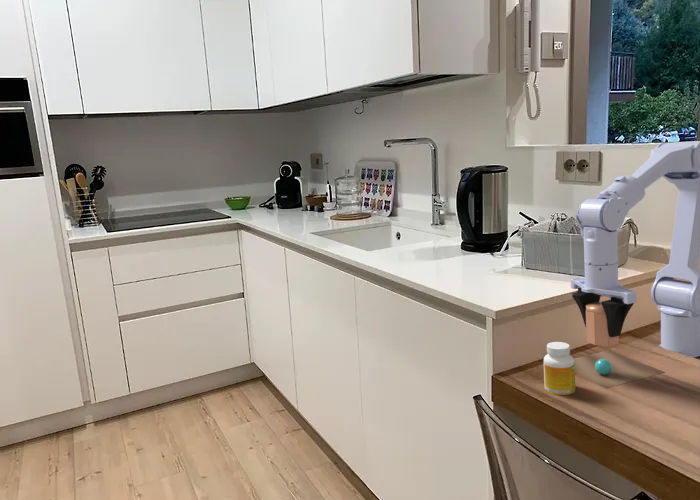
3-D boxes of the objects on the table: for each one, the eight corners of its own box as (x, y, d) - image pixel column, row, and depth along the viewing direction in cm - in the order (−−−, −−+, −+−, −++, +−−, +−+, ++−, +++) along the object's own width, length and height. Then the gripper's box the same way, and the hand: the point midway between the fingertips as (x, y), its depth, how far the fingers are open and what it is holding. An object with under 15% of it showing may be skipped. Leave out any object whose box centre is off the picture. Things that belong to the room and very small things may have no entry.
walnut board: (609, 355, 116) (609, 349, 115) (665, 378, 102) (665, 372, 102) (555, 368, 112) (555, 363, 111) (606, 394, 98) (606, 388, 98)
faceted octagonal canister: (603, 333, 106) (602, 300, 105) (625, 341, 101) (624, 306, 100) (580, 339, 105) (579, 304, 103) (601, 347, 99) (600, 311, 98)
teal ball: (603, 369, 106) (603, 355, 105) (615, 375, 103) (615, 360, 103) (591, 373, 105) (591, 358, 105) (603, 378, 102) (602, 363, 102)
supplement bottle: (578, 401, 97) (576, 350, 95) (547, 401, 98) (545, 350, 97) (572, 388, 102) (570, 339, 101) (542, 388, 103) (540, 340, 102)
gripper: (557, 260, 106) (559, 325, 108) (613, 272, 92) (614, 346, 95) (586, 254, 108) (588, 319, 110) (645, 265, 94) (646, 339, 97)
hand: (602, 331), depth 103 cm, fingers closed on faceted octagonal canister, 5 cm apart
